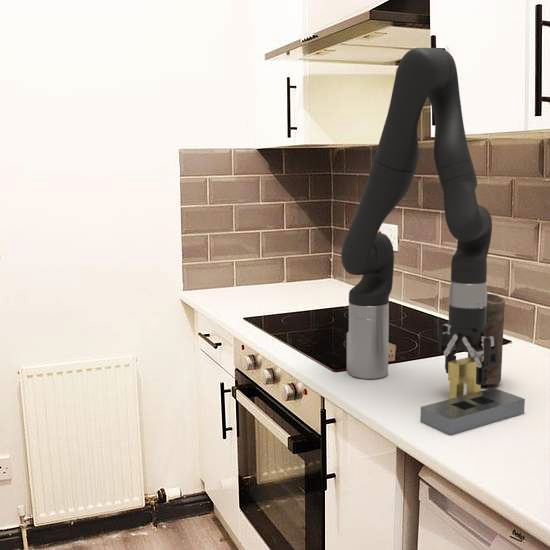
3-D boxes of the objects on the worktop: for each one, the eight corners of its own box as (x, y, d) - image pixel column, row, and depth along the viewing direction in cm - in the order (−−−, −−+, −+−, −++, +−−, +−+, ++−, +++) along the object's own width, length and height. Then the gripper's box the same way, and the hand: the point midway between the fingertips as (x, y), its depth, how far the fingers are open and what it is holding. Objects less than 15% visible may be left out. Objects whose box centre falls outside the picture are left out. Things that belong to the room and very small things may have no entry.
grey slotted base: (420, 421, 136) (420, 406, 135) (492, 401, 146) (493, 387, 145) (450, 435, 129) (450, 419, 128) (524, 413, 139) (524, 398, 138)
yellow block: (447, 400, 146) (448, 361, 145) (471, 394, 150) (472, 356, 148) (457, 405, 144) (459, 365, 142) (482, 398, 147) (483, 359, 146)
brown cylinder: (495, 377, 160) (498, 292, 157) (506, 388, 153) (510, 299, 150) (462, 378, 160) (464, 293, 157) (472, 389, 153) (475, 300, 149)
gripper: (429, 299, 147) (428, 372, 150) (481, 311, 135) (478, 391, 138) (455, 294, 151) (454, 366, 154) (508, 306, 139) (504, 384, 142)
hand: (465, 378), depth 146 cm, fingers open, 8 cm apart
